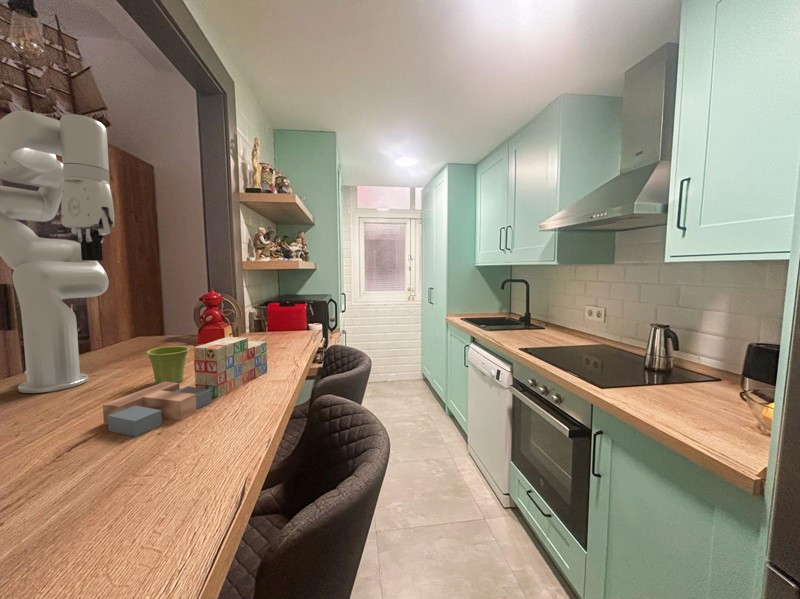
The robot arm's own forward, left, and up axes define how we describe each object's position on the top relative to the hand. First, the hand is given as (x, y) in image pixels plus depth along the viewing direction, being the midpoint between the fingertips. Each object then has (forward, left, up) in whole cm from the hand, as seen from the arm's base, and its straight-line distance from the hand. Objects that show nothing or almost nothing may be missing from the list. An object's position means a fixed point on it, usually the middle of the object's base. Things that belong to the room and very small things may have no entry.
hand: (92, 260), depth 77 cm
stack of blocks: (+21, +20, -32) cm, 43 cm away
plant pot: (+4, +14, -32) cm, 35 cm away
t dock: (+22, -2, -32) cm, 39 cm away
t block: (+21, -1, -32) cm, 38 cm away
